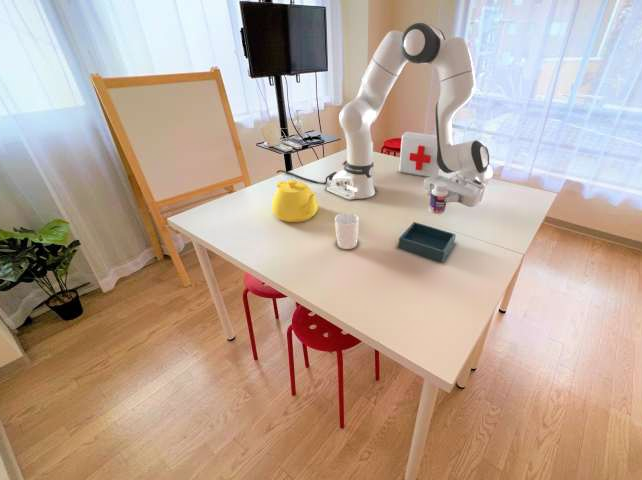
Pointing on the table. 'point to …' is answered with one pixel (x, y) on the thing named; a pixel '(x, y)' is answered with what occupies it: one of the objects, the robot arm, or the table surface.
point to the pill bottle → (438, 198)
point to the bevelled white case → (419, 154)
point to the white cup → (346, 230)
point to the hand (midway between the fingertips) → (437, 196)
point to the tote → (427, 241)
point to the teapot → (294, 201)
